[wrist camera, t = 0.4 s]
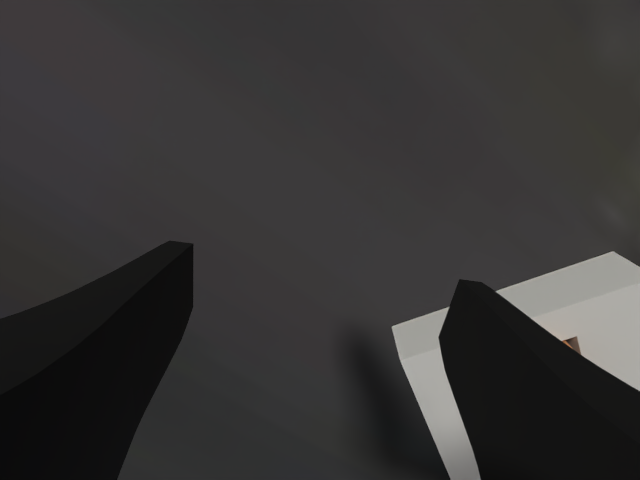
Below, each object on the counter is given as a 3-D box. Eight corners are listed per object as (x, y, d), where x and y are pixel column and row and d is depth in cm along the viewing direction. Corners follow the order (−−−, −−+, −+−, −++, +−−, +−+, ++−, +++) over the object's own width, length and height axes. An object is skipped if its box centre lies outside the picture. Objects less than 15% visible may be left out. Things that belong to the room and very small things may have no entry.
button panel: (662, 523, 28) (699, 572, 25) (490, 563, 30) (507, 612, 27) (612, 251, 21) (656, 277, 18) (391, 326, 23) (399, 360, 20)
